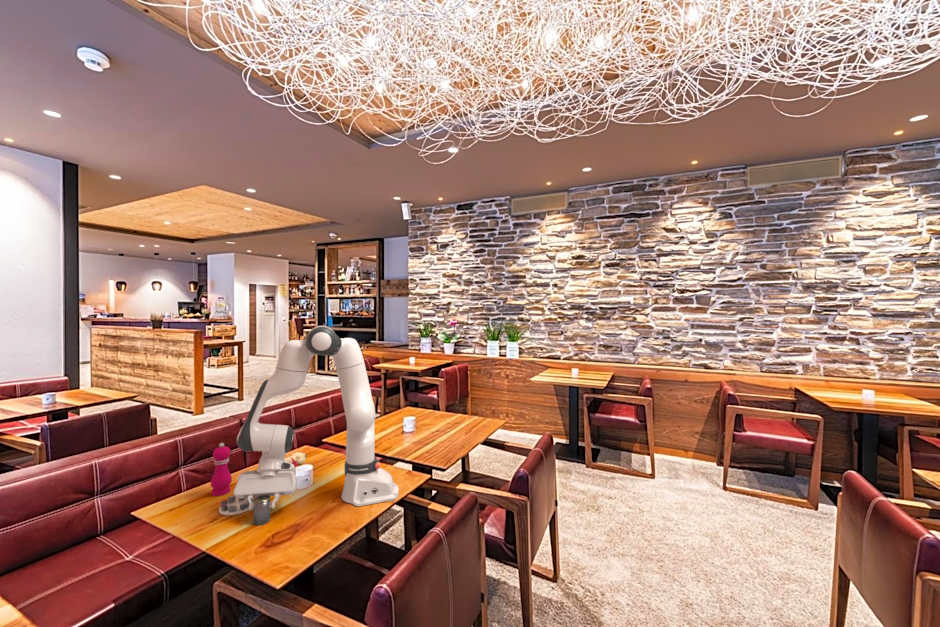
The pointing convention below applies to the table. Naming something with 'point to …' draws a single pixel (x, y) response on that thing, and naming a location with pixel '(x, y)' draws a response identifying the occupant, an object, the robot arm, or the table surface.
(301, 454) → the cream dog bone
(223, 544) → the table surface
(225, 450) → the pepper mill
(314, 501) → the table surface
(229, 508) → the castellated coaster
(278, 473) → the robot arm
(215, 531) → the table surface
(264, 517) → the sleeve nut
